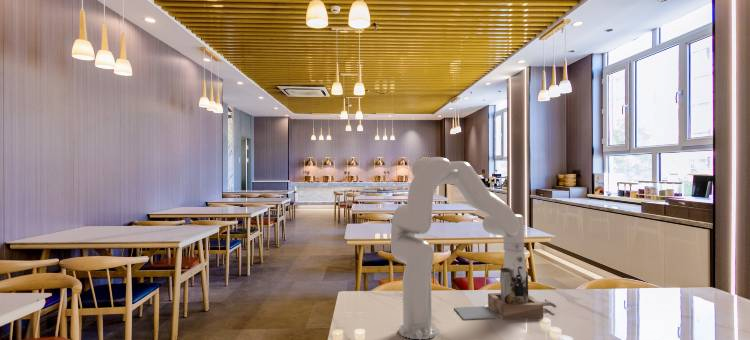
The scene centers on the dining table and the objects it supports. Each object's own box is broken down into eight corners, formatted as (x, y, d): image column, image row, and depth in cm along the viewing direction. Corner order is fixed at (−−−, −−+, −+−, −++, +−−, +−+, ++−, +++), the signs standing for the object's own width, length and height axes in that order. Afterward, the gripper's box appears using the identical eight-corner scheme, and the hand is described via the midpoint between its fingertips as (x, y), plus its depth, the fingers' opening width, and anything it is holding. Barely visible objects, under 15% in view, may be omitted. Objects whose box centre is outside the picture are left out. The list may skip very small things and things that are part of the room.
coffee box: (524, 309, 155) (523, 267, 155) (529, 314, 149) (528, 271, 149) (500, 308, 156) (500, 267, 156) (504, 314, 149) (503, 271, 150)
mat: (495, 318, 145) (495, 317, 145) (463, 320, 144) (463, 318, 144) (483, 307, 157) (483, 306, 157) (453, 308, 156) (453, 307, 156)
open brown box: (563, 316, 146) (562, 303, 146) (504, 319, 144) (503, 305, 144) (541, 303, 161) (541, 291, 161) (488, 305, 159) (487, 293, 159)
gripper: (534, 250, 144) (535, 299, 144) (513, 242, 161) (513, 286, 161) (514, 251, 143) (515, 300, 143) (495, 242, 161) (495, 286, 161)
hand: (514, 292), depth 152 cm, fingers closed on coffee box, 7 cm apart
